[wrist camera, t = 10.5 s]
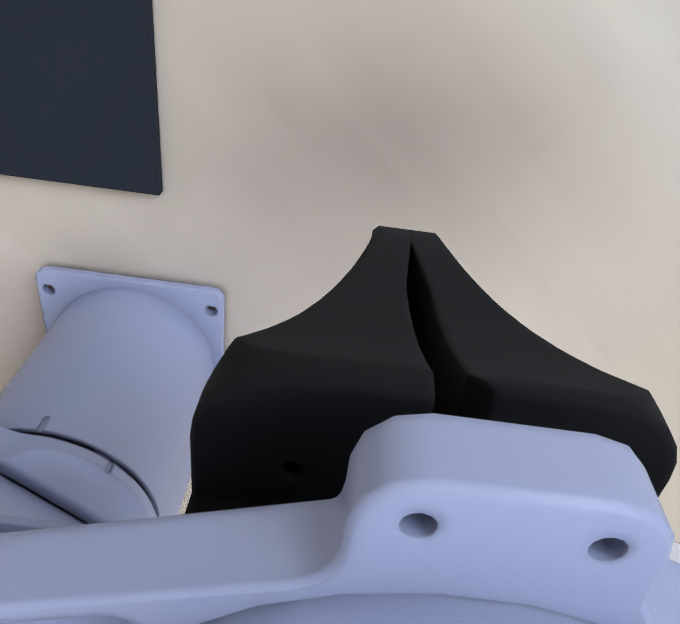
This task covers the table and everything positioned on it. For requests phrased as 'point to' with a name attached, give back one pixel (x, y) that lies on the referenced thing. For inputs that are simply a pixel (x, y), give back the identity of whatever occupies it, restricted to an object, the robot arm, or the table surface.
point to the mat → (80, 93)
